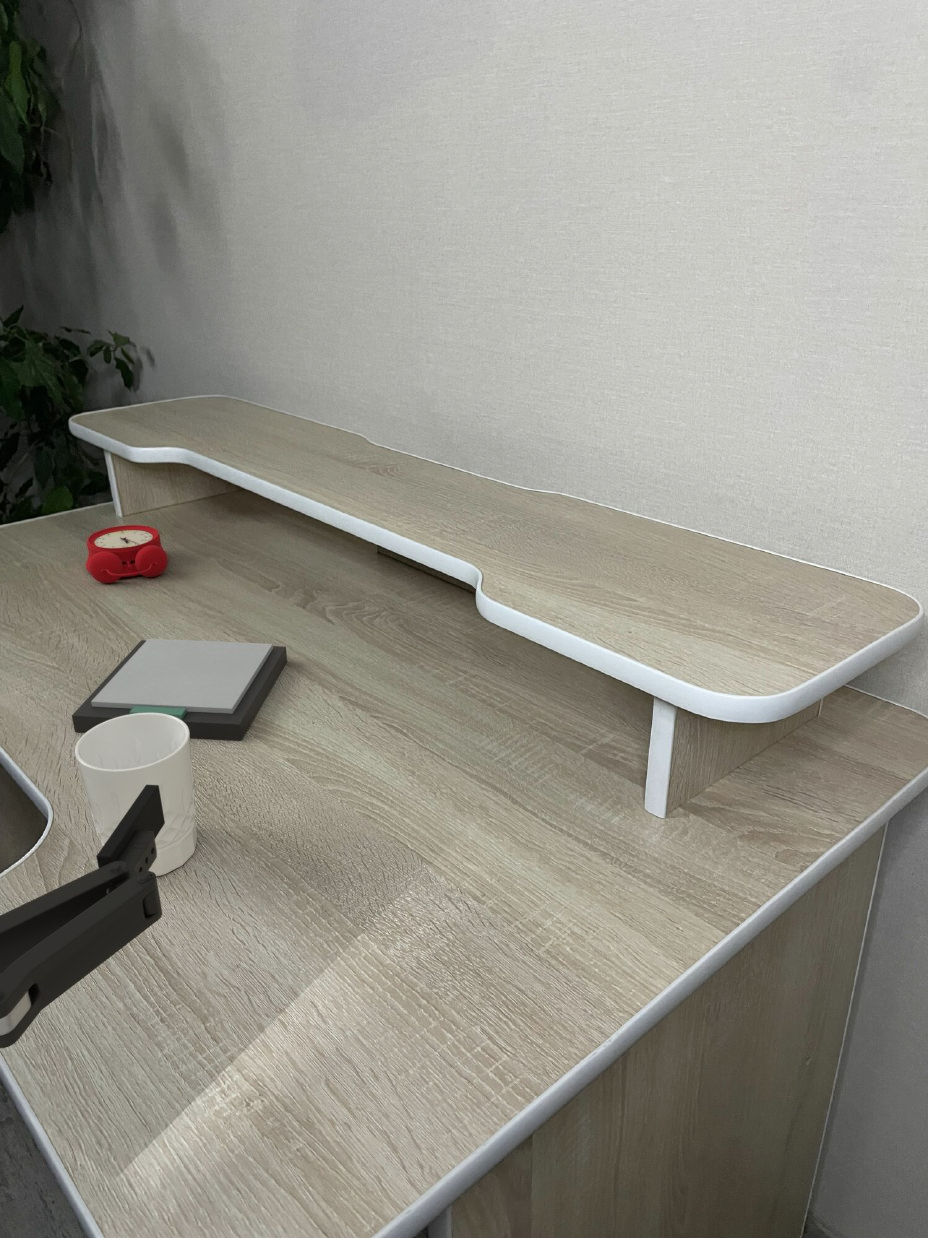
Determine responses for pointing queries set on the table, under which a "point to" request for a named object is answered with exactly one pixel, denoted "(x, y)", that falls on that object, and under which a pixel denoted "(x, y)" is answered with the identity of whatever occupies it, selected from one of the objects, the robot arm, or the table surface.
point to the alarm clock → (125, 553)
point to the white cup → (141, 779)
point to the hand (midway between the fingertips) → (45, 797)
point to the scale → (188, 685)
